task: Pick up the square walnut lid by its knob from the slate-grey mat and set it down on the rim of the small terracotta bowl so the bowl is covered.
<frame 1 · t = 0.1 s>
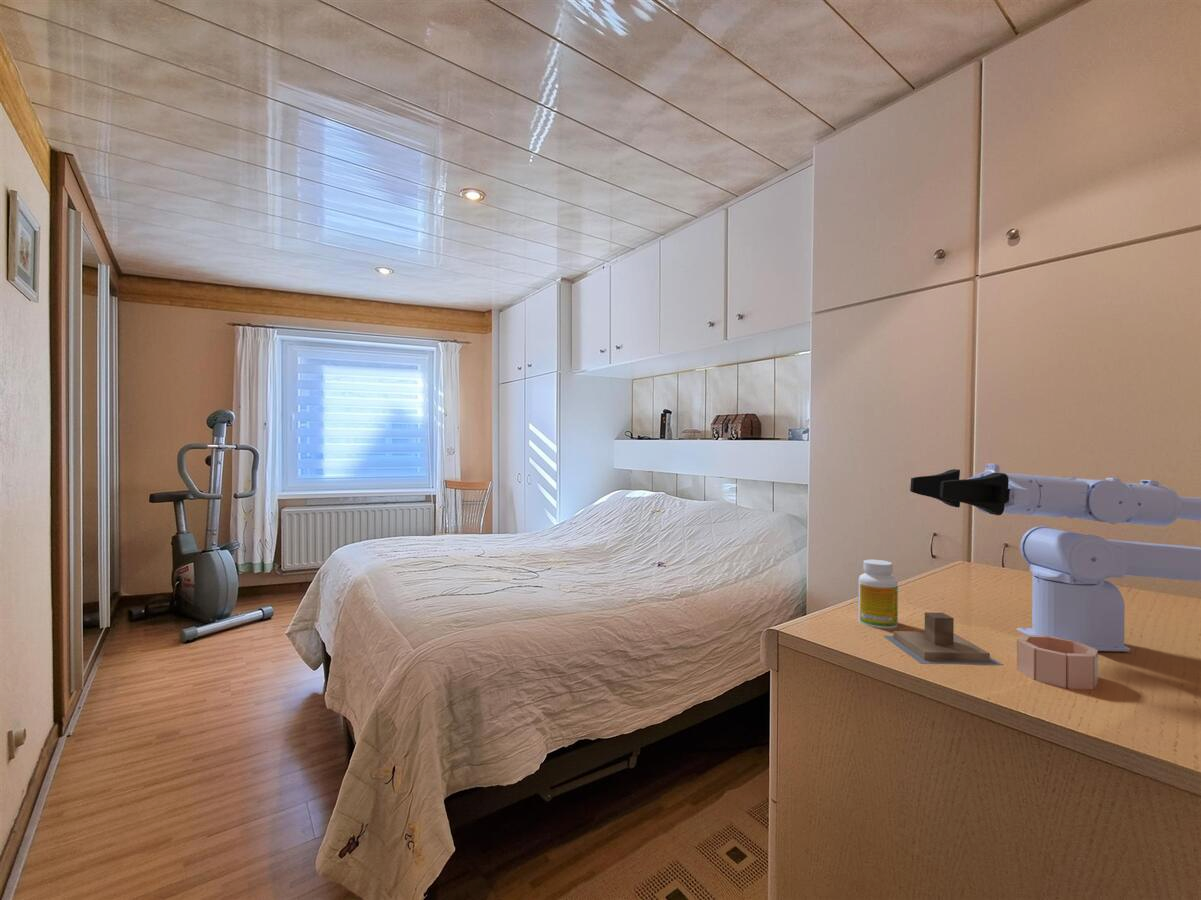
hand: (925, 487, 78), 22 cm above the table, tool horizontal, fingers open, 7 cm apart
supplement bottle: (877, 626, 84), on the table
mat: (938, 652, 73), on the table
lid: (938, 649, 73), resting on mat
bowl: (1056, 678, 64), on the table
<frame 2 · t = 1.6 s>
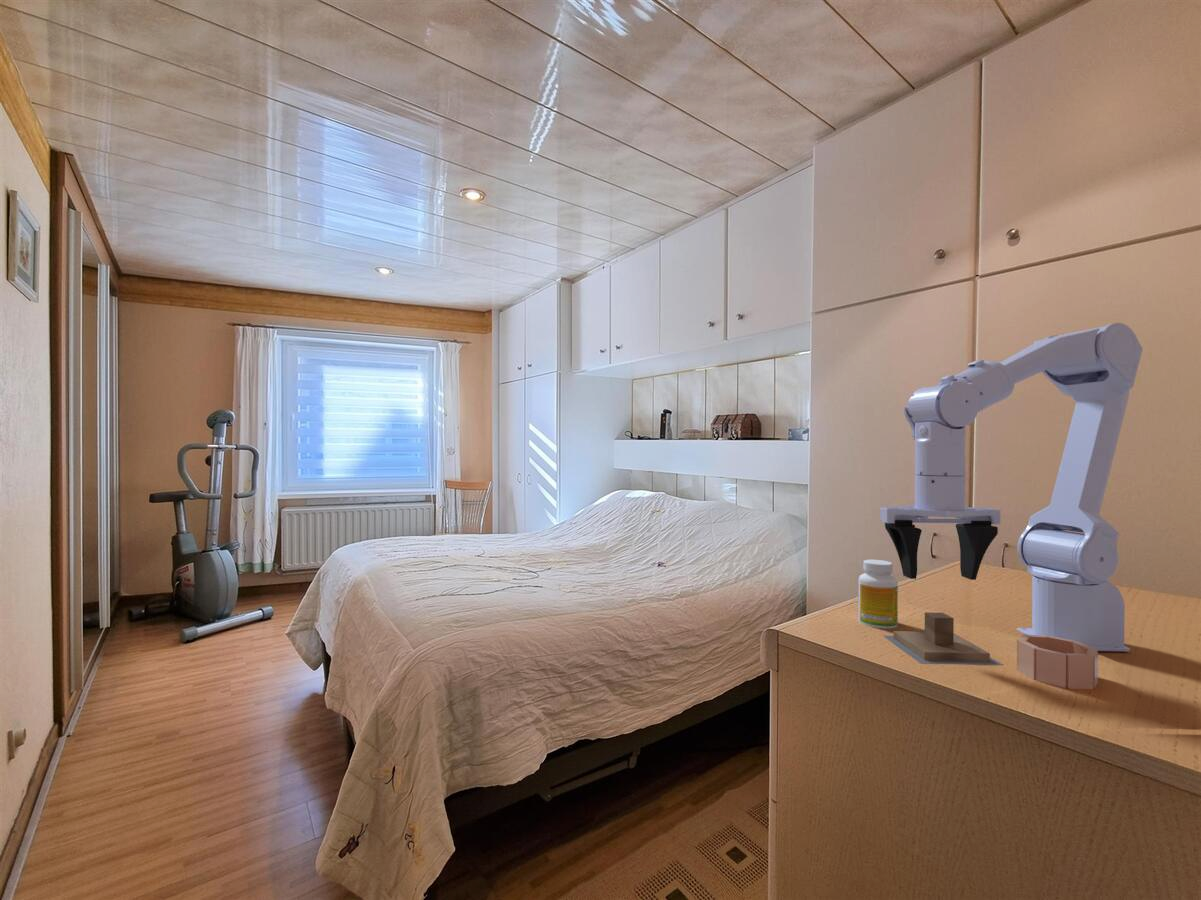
hand: (939, 577, 73), 10 cm above the table, tool pointing down, fingers open, 7 cm apart
nothing on the table moved.
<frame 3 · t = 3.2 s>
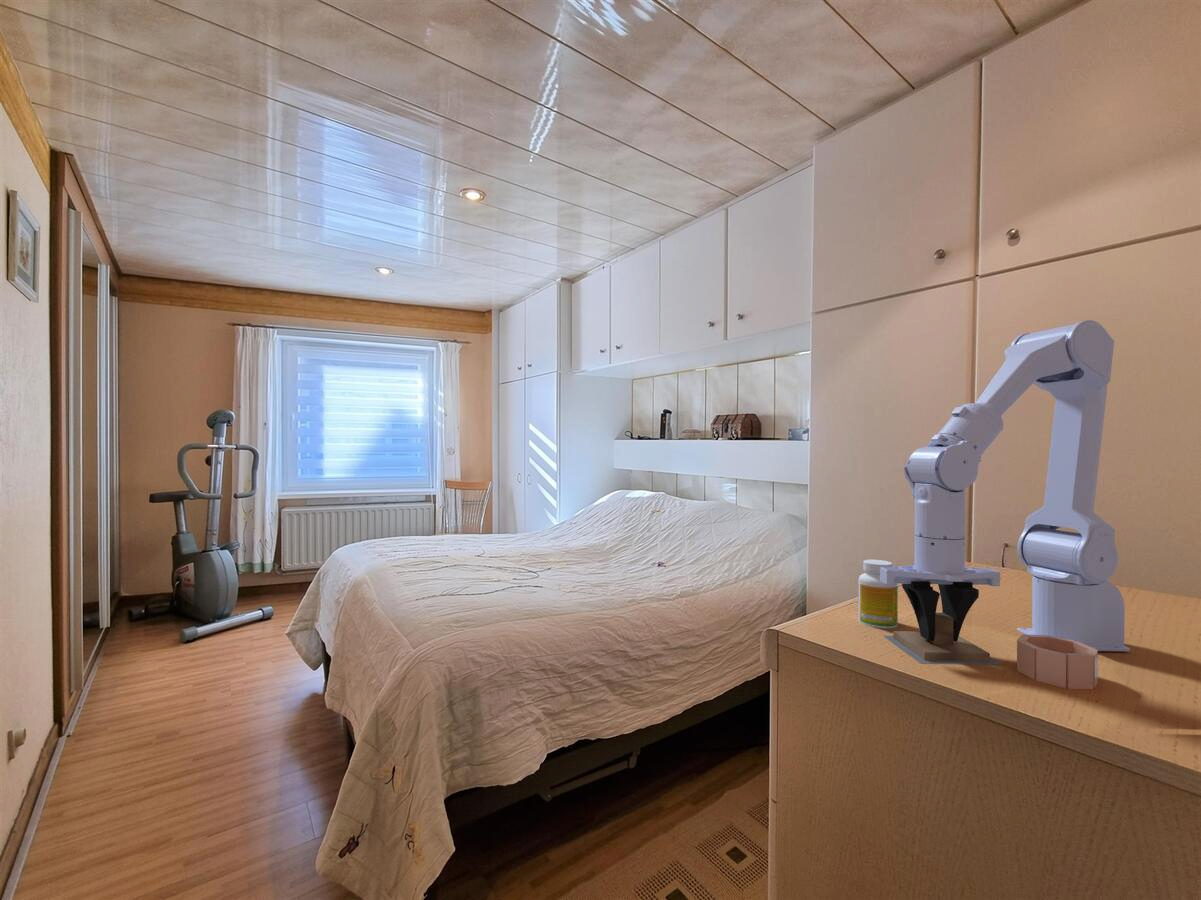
hand: (938, 638, 73), 2 cm above the table, tool pointing down, fingers closed on lid, 2 cm apart
lid: (938, 649, 73), resting on mat, touching gripper
everything else where it was.
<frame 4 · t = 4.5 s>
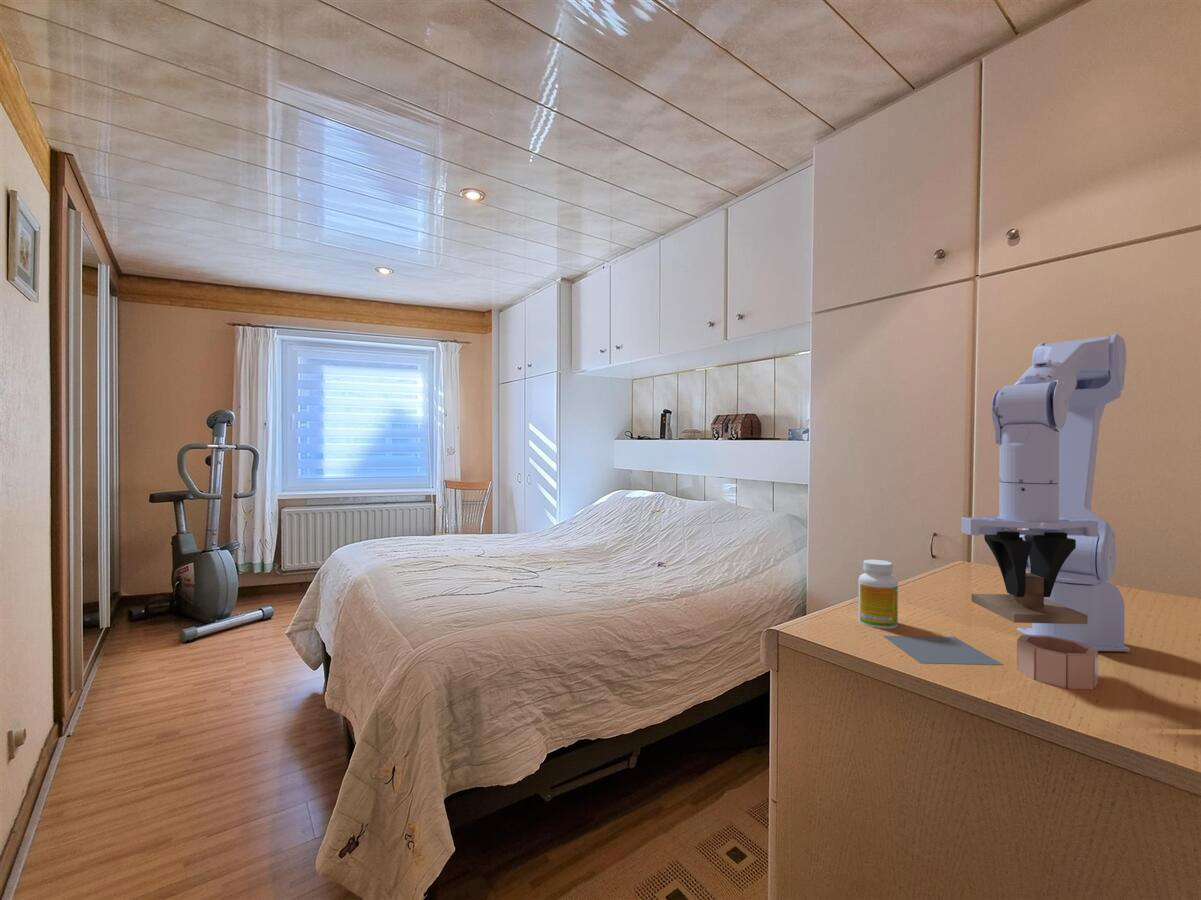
hand: (1028, 594, 66), 9 cm above the table, tool pointing down, fingers closed on lid, 2 cm apart
lid: (1025, 612, 67), point 7 cm above the table, touching gripper
everything else where it was.
when the fingers open (7 cm above the table, at t = 5.4 s): lid stays where it is, resting on bowl.
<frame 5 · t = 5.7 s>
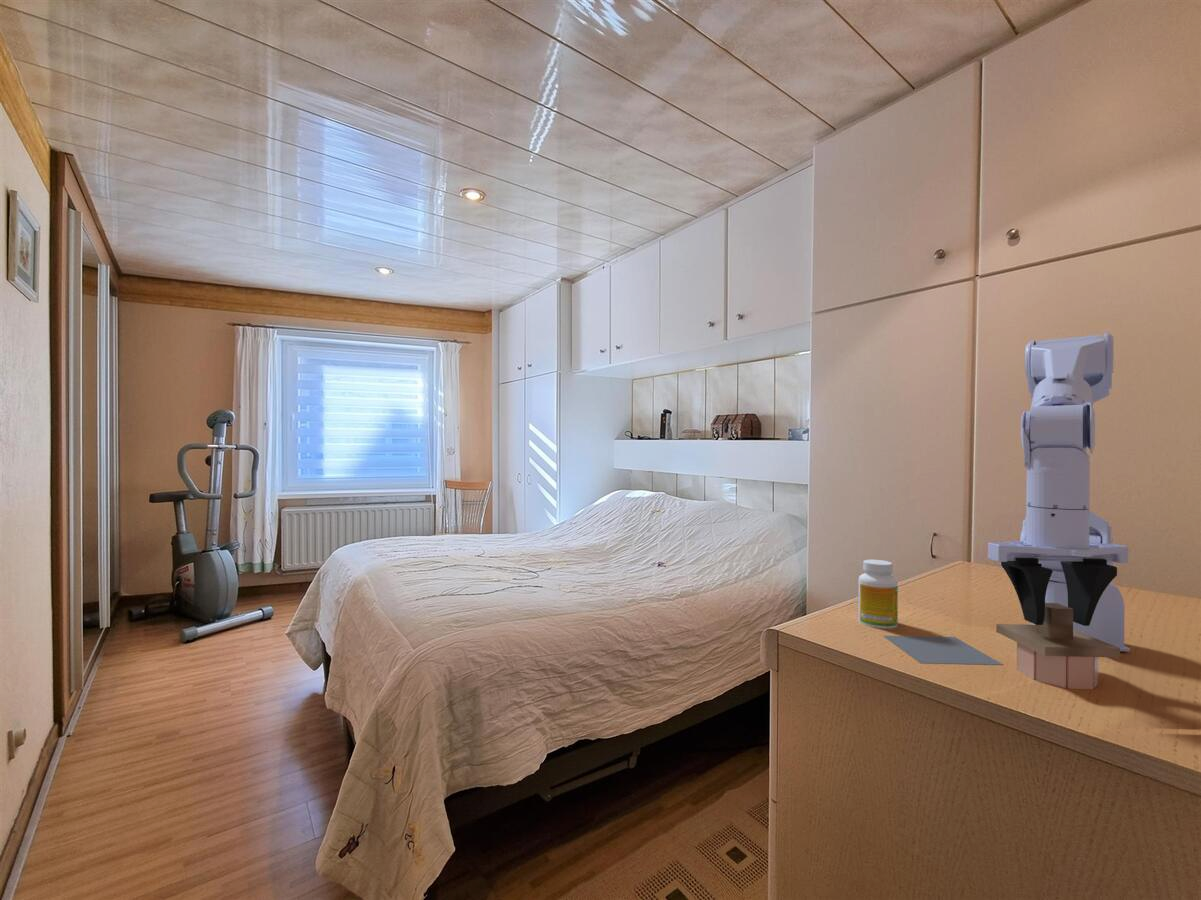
hand: (1056, 622, 64), 7 cm above the table, tool pointing down, fingers open, 5 cm apart
lid: (1054, 643, 65), point 4 cm above the table, touching bowl
everything else where it was.
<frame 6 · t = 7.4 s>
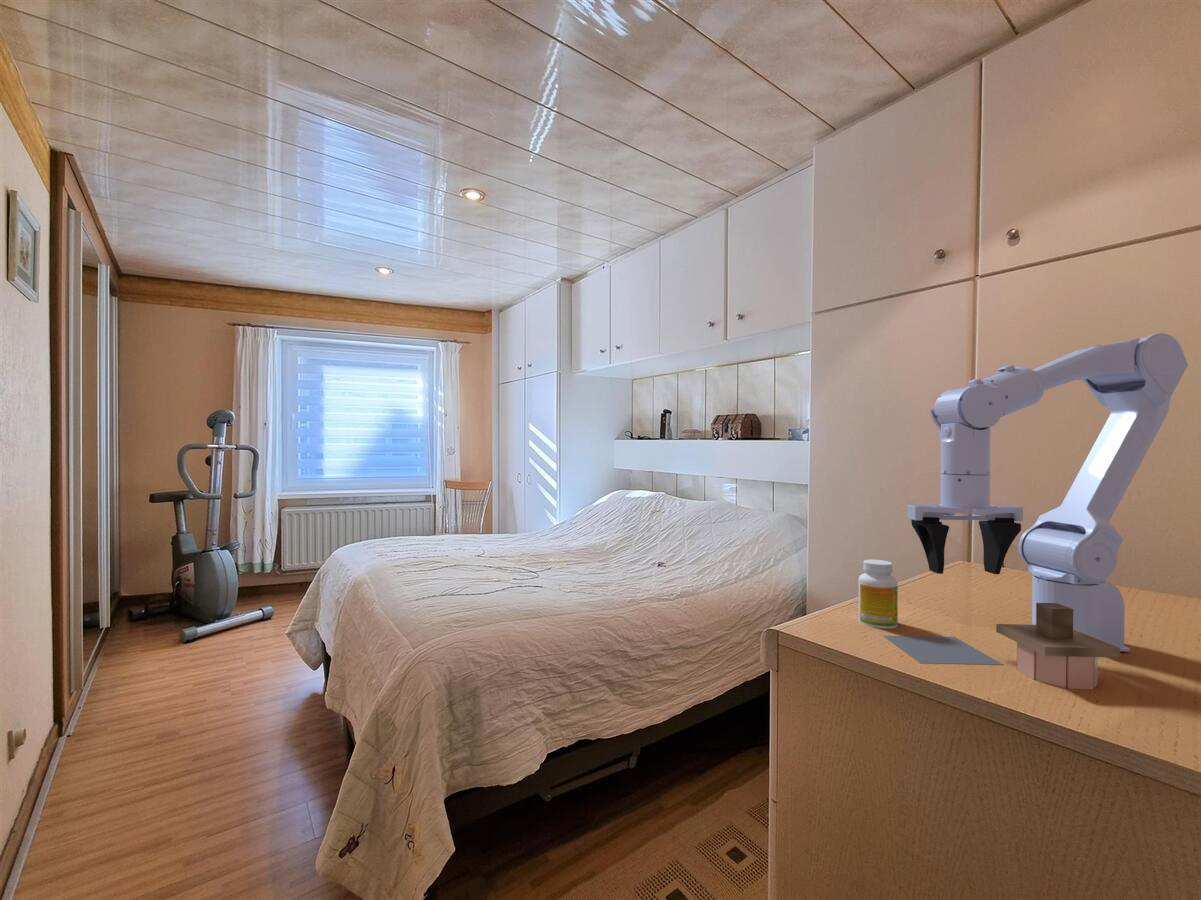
hand: (964, 572, 76), 10 cm above the table, tool pointing down, fingers open, 7 cm apart
nothing on the table moved.
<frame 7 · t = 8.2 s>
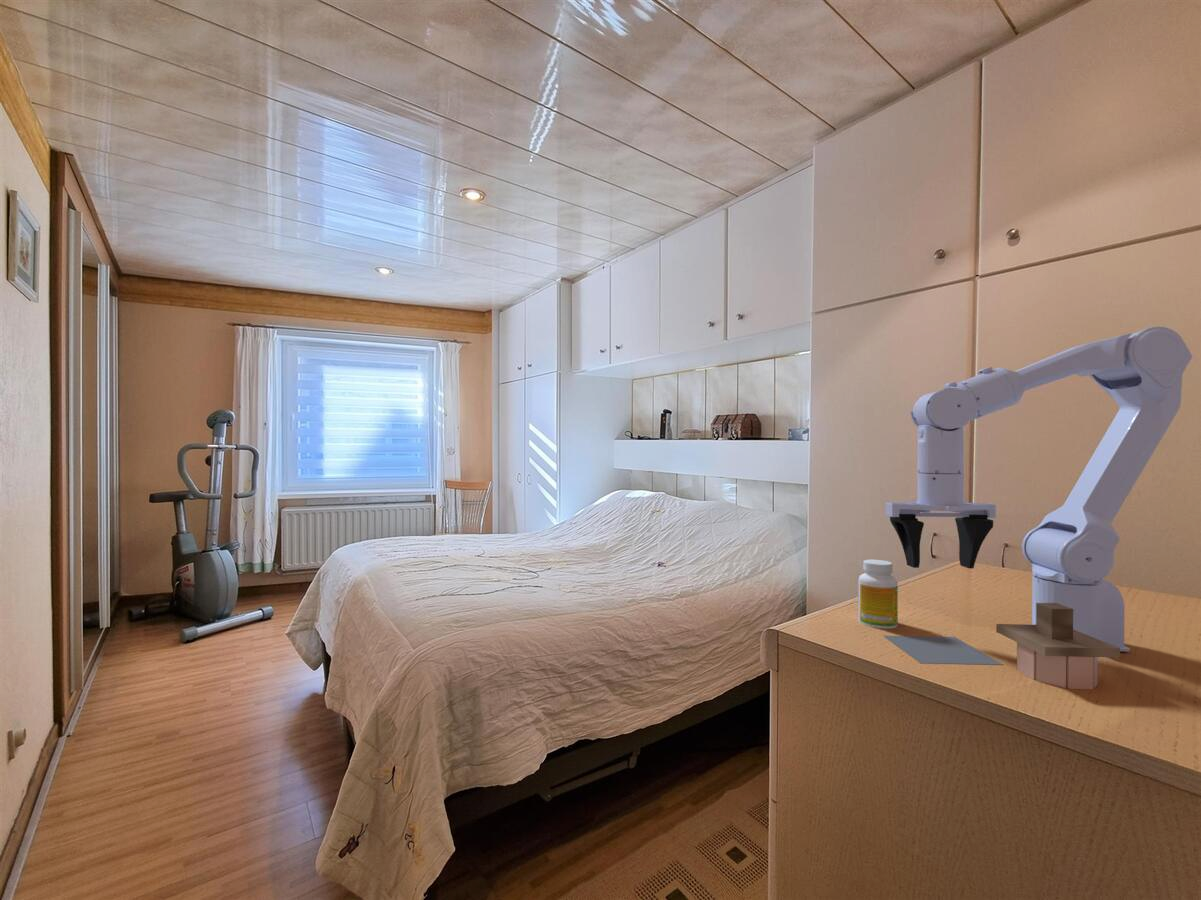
hand: (939, 566, 80), 10 cm above the table, tool pointing down, fingers open, 7 cm apart
nothing on the table moved.
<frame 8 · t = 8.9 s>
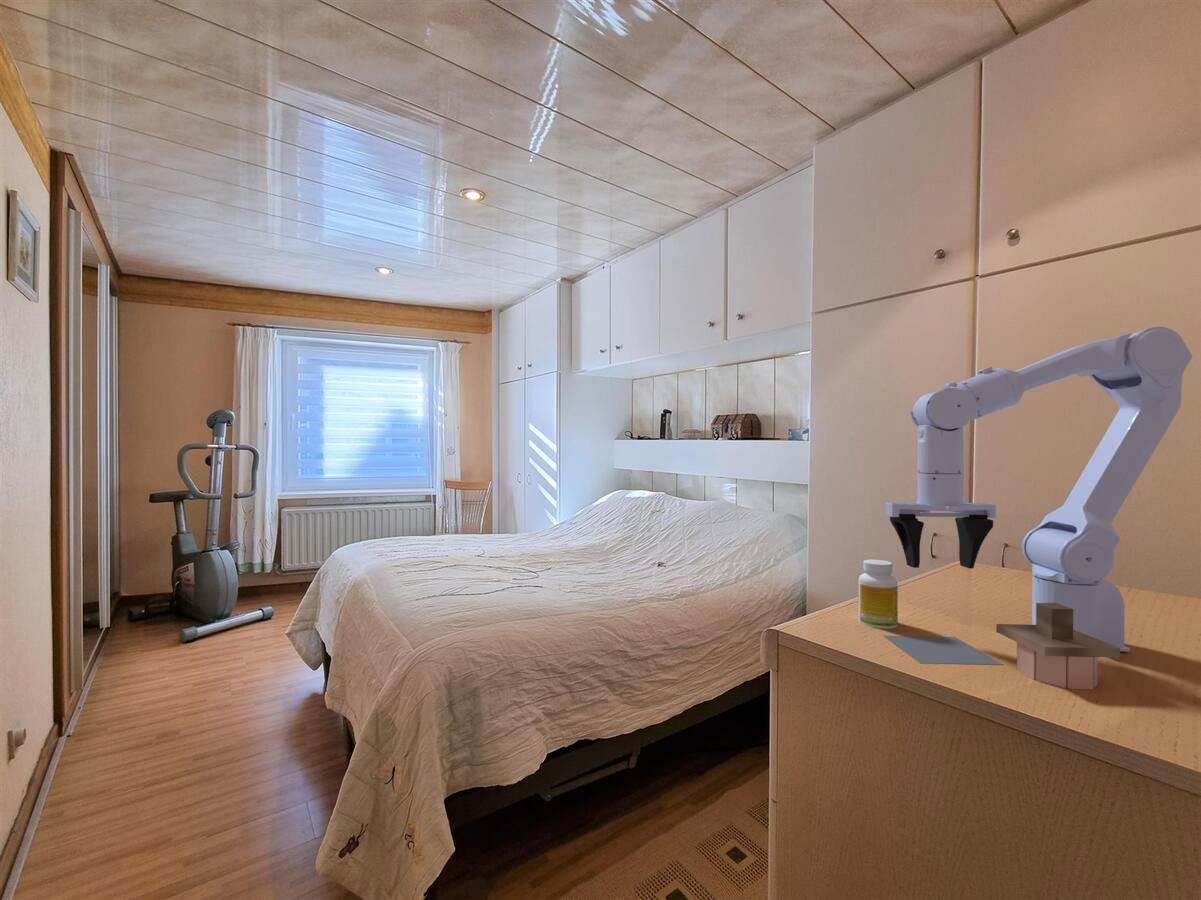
hand: (939, 566, 80), 10 cm above the table, tool pointing down, fingers open, 7 cm apart
nothing on the table moved.
at the end: lid 0.3 cm off-centre on the bowl, point 4.0 cm above the bowl's base; lid tilted 0°; the gripper is holding nothing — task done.
